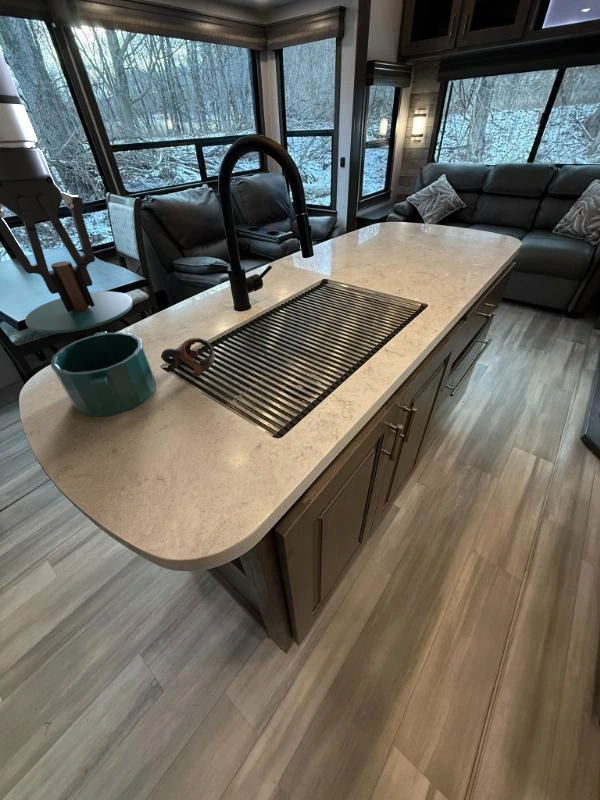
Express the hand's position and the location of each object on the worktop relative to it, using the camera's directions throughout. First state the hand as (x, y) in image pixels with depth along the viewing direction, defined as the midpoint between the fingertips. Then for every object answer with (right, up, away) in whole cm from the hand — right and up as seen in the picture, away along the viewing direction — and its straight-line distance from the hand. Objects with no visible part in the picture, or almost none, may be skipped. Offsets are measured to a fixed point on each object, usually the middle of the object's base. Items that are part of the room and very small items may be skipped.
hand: (80, 306), depth 61 cm
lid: (0, -1, +1) cm, 1 cm away
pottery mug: (+14, -9, +20) cm, 27 cm away
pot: (0, -16, +13) cm, 20 cm away
